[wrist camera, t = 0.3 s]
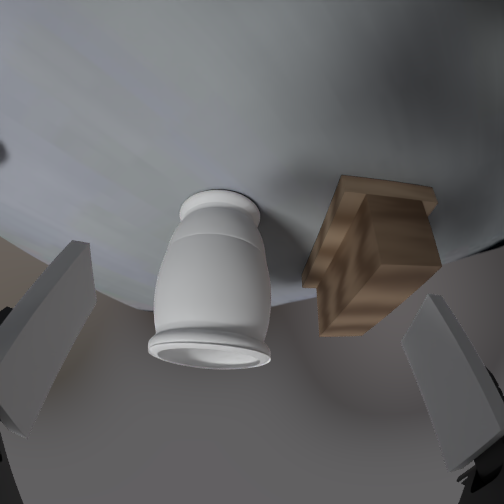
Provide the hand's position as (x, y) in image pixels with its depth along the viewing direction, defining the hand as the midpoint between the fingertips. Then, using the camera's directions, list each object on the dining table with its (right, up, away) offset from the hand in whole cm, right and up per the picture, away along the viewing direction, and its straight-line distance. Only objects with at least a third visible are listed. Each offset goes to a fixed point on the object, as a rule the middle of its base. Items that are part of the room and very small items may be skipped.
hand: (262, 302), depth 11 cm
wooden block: (+12, +3, +25) cm, 28 cm away
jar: (-4, +6, +22) cm, 23 cm away
